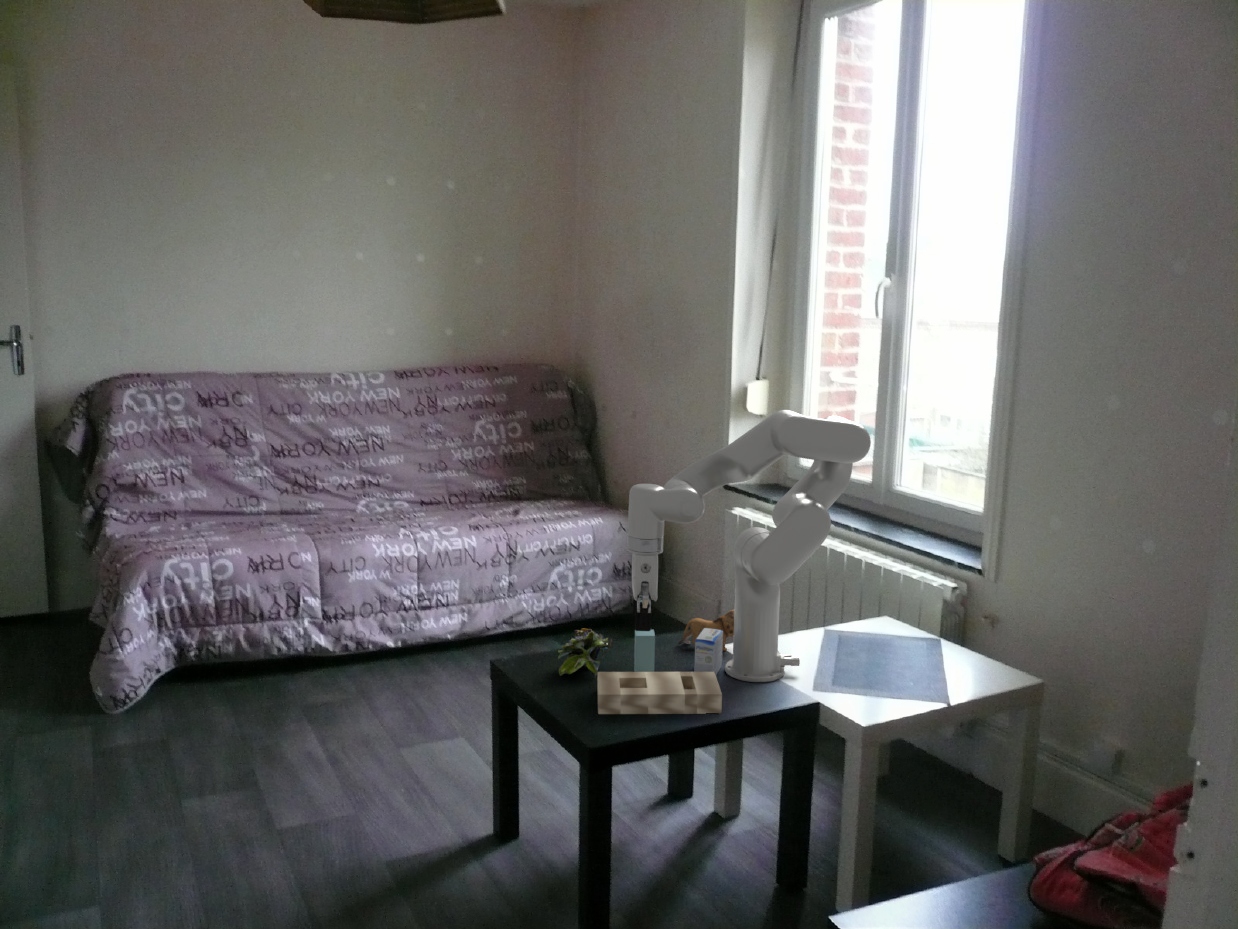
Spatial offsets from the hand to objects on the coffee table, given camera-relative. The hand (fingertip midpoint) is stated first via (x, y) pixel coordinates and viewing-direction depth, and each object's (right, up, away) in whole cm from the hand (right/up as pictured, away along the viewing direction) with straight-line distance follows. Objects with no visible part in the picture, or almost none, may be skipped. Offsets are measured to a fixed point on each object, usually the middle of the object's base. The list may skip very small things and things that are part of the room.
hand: (641, 623), depth 225 cm
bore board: (+3, -14, -10) cm, 18 cm away
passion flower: (-12, -12, +5) cm, 17 cm away
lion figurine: (+17, -9, +22) cm, 29 cm away
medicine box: (+14, -12, +6) cm, 19 cm away
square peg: (+1, -12, +2) cm, 12 cm away
